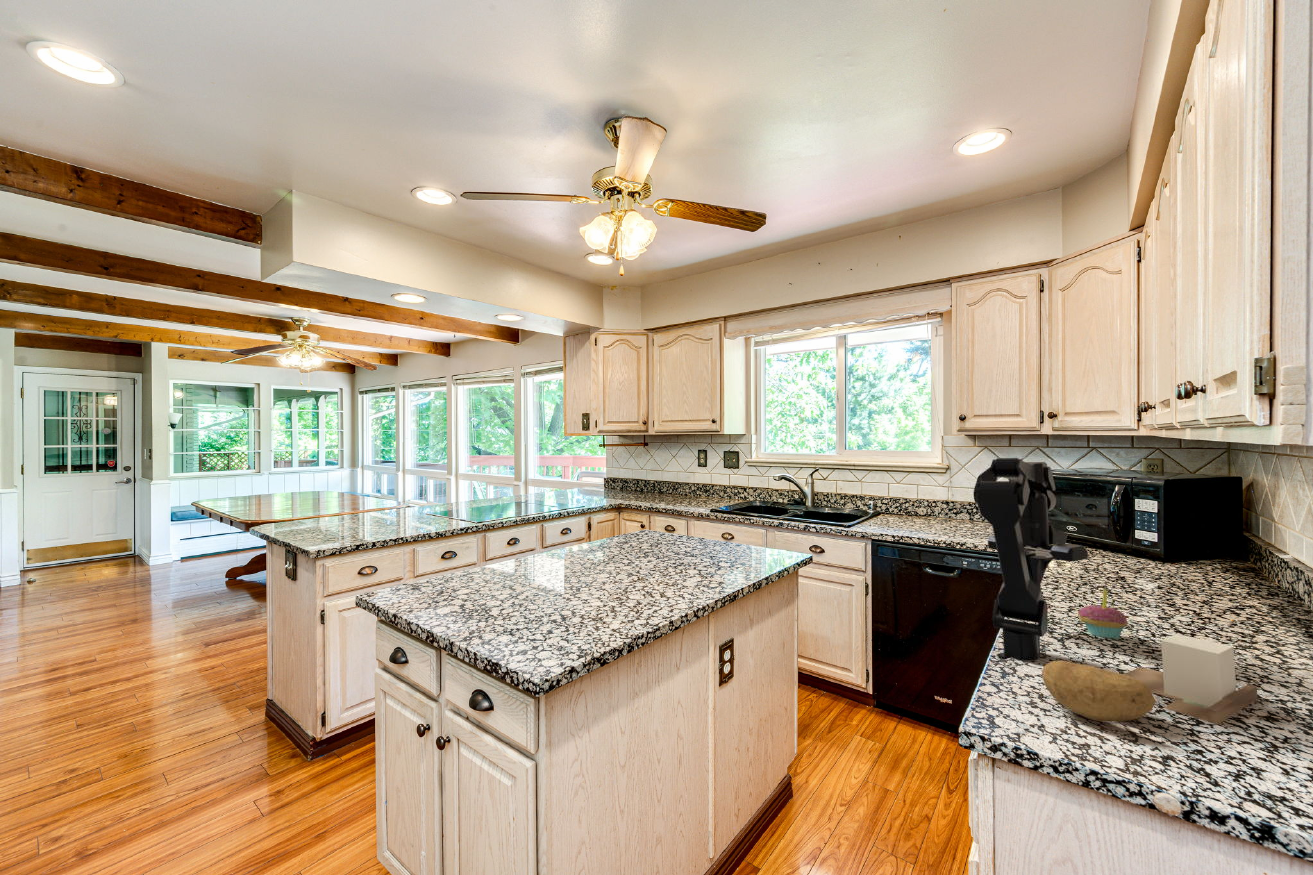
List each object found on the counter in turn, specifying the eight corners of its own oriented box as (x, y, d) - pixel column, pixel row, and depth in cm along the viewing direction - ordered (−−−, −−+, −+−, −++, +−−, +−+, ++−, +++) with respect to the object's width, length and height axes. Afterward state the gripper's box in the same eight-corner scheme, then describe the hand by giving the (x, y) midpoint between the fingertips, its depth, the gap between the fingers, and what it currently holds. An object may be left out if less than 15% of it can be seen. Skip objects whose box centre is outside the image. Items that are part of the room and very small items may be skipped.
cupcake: (1138, 645, 112) (1135, 589, 113) (1093, 644, 114) (1090, 589, 114) (1112, 631, 121) (1109, 579, 121) (1070, 630, 122) (1067, 579, 123)
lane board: (1097, 691, 93) (1096, 674, 93) (1141, 671, 100) (1140, 655, 100) (1217, 731, 79) (1216, 711, 79) (1258, 704, 86) (1256, 686, 86)
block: (1164, 693, 89) (1161, 640, 89) (1179, 685, 92) (1176, 633, 92) (1222, 710, 83) (1218, 653, 83) (1237, 701, 86) (1233, 646, 86)
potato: (1158, 746, 76) (1154, 690, 76) (1039, 715, 86) (1036, 666, 86) (1157, 719, 83) (1154, 668, 83) (1048, 693, 93) (1045, 648, 93)
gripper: (1101, 517, 113) (1106, 590, 113) (1015, 510, 131) (1019, 572, 130) (1068, 522, 109) (1073, 597, 109) (984, 513, 127) (988, 578, 126)
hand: (1036, 585), depth 119 cm, fingers closed
